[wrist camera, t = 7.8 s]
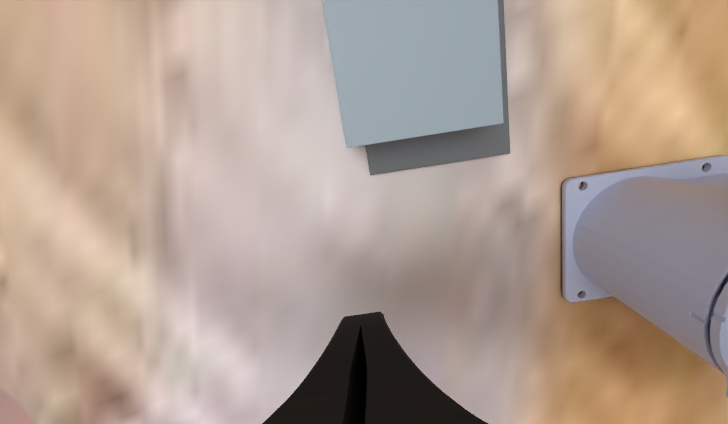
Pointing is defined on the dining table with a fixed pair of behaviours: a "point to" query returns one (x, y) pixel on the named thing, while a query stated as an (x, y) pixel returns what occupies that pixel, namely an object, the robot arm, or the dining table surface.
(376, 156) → the flat gray panel
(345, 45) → the slab
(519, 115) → the dining table surface
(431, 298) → the dining table surface
